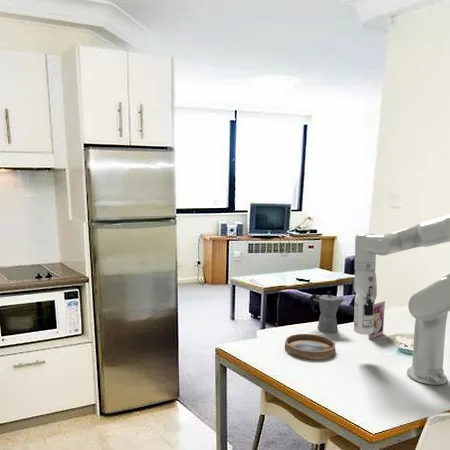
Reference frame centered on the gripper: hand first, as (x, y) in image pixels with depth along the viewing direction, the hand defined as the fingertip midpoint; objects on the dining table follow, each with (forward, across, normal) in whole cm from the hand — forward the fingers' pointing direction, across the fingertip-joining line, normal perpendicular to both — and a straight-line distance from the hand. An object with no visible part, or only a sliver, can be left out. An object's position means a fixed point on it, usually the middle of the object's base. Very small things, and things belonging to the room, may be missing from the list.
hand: (363, 311), depth 160 cm
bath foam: (+8, 0, 0) cm, 8 cm away
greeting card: (+18, +25, -15) cm, 34 cm away
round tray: (+18, +10, +18) cm, 27 cm away
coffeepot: (+18, +33, +3) cm, 37 cm away
